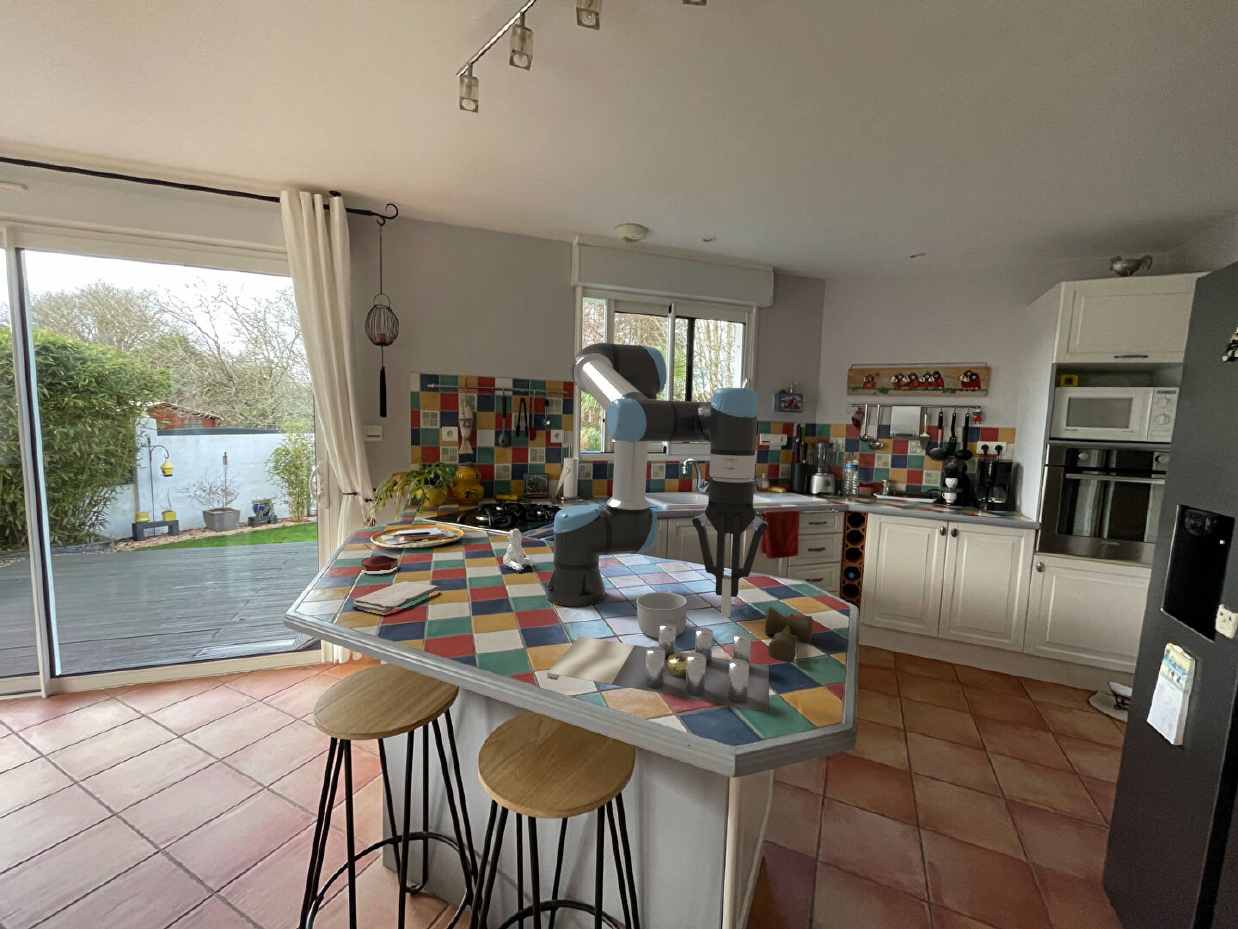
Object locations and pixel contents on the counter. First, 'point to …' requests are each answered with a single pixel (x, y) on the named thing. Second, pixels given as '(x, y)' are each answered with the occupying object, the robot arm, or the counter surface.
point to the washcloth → (394, 596)
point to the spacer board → (629, 670)
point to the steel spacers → (700, 662)
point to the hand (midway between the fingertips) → (725, 613)
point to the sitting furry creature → (515, 551)
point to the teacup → (661, 612)
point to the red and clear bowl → (379, 562)
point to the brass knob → (677, 665)
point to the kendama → (786, 633)
